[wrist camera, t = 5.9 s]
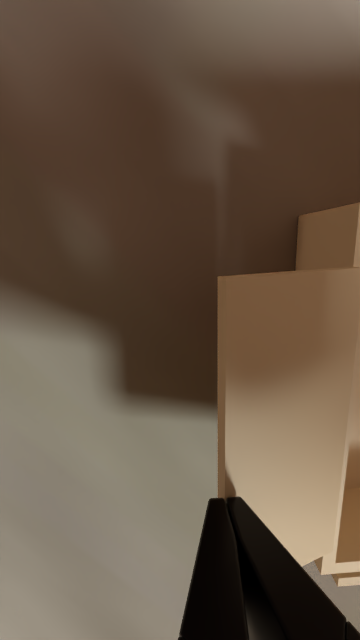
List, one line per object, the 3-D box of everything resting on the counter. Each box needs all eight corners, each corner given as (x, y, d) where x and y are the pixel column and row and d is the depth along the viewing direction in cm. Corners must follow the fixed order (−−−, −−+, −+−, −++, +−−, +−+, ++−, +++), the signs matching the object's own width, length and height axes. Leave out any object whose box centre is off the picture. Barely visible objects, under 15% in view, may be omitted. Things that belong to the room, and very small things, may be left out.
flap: (332, 551, 10) (224, 604, 9) (323, 541, 11) (217, 590, 9) (365, 267, 8) (226, 278, 7) (351, 266, 8) (218, 276, 7)
